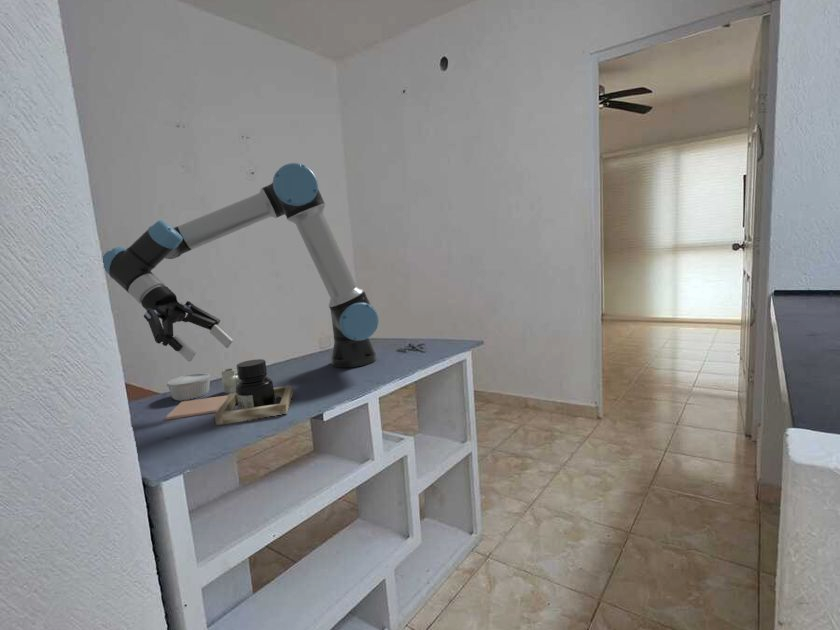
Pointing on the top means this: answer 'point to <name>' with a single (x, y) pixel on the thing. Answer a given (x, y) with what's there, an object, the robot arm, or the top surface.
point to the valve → (229, 380)
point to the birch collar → (232, 416)
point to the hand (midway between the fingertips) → (212, 350)
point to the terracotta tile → (197, 407)
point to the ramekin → (189, 386)
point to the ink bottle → (254, 385)
